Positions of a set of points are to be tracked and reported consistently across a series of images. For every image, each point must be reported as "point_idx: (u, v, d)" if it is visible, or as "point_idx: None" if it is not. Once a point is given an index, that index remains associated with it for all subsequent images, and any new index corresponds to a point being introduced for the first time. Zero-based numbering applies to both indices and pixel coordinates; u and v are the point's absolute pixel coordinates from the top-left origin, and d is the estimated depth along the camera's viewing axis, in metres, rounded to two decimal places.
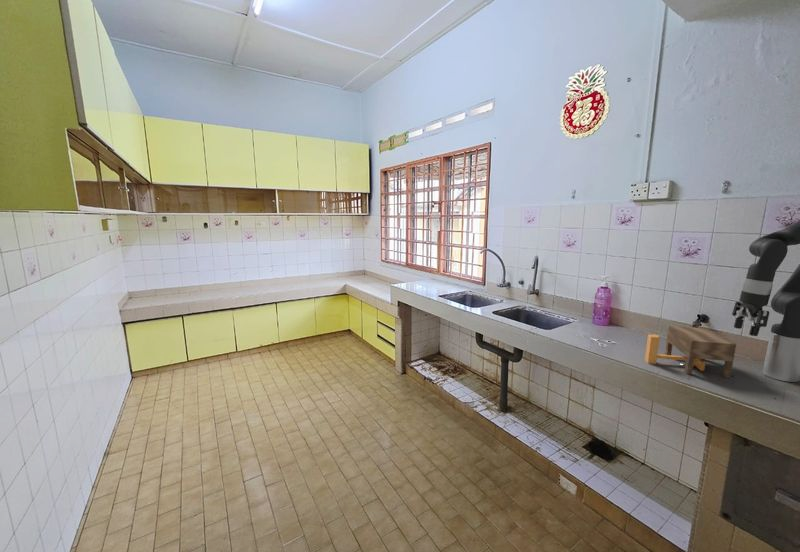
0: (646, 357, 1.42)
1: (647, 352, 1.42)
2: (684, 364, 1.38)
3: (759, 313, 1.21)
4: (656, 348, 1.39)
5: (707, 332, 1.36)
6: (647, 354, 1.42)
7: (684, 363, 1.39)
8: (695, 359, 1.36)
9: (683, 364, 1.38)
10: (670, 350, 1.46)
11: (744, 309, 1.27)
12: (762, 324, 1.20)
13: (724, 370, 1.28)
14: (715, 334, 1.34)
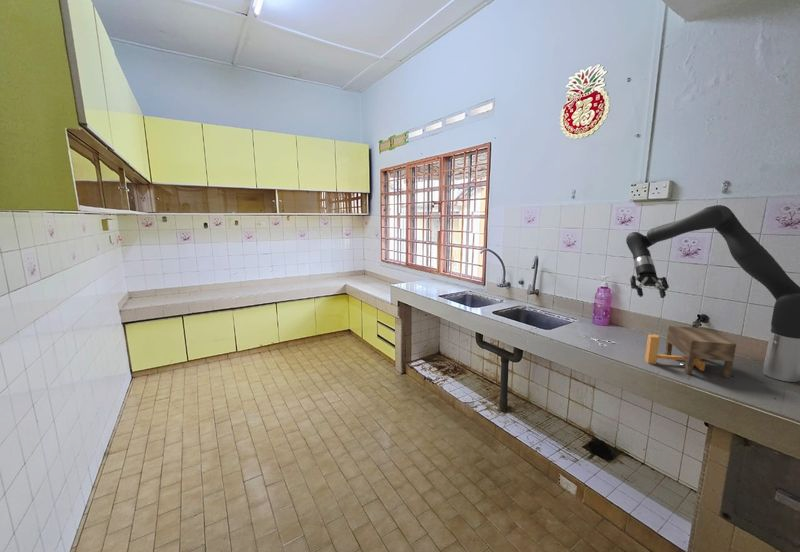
0: (646, 357, 1.42)
1: (647, 352, 1.42)
2: (684, 364, 1.38)
3: None
4: (656, 348, 1.39)
5: (707, 332, 1.36)
6: (647, 354, 1.42)
7: (684, 363, 1.39)
8: (695, 359, 1.36)
9: (683, 364, 1.38)
10: (670, 350, 1.46)
11: None
12: (632, 285, 1.54)
13: (724, 370, 1.28)
14: (715, 334, 1.34)
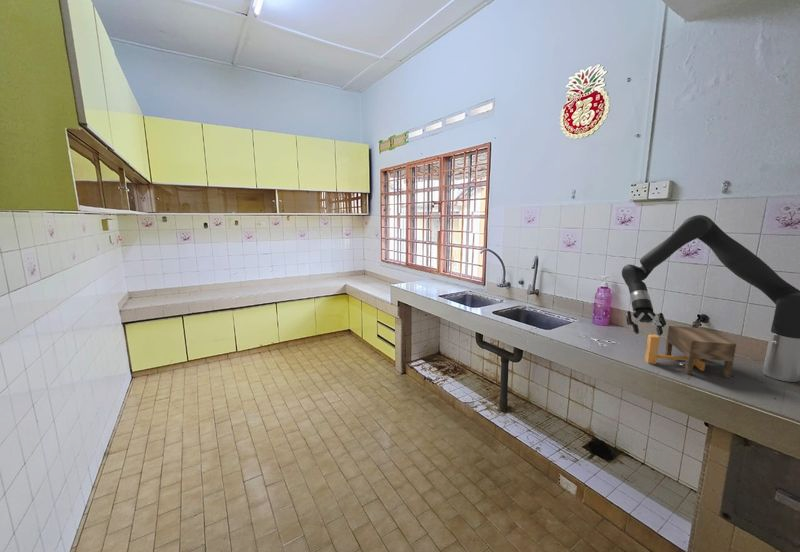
0: (646, 357, 1.42)
1: (647, 352, 1.42)
2: (684, 364, 1.38)
3: None
4: (656, 348, 1.39)
5: (707, 332, 1.36)
6: (647, 354, 1.42)
7: (684, 363, 1.39)
8: (695, 359, 1.36)
9: (683, 364, 1.38)
10: (670, 350, 1.46)
11: None
12: (628, 321, 1.49)
13: (724, 370, 1.28)
14: (715, 334, 1.34)
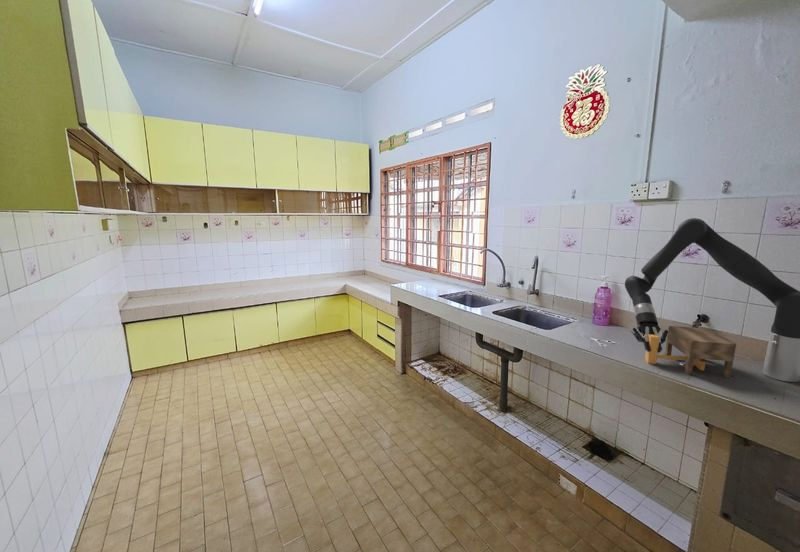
0: (646, 357, 1.42)
1: (647, 352, 1.42)
2: (684, 364, 1.38)
3: None
4: (656, 348, 1.39)
5: (707, 332, 1.36)
6: (647, 354, 1.41)
7: (684, 363, 1.39)
8: (695, 359, 1.36)
9: (683, 364, 1.38)
10: (670, 350, 1.46)
11: None
12: (639, 338, 1.43)
13: (724, 370, 1.28)
14: (715, 334, 1.34)
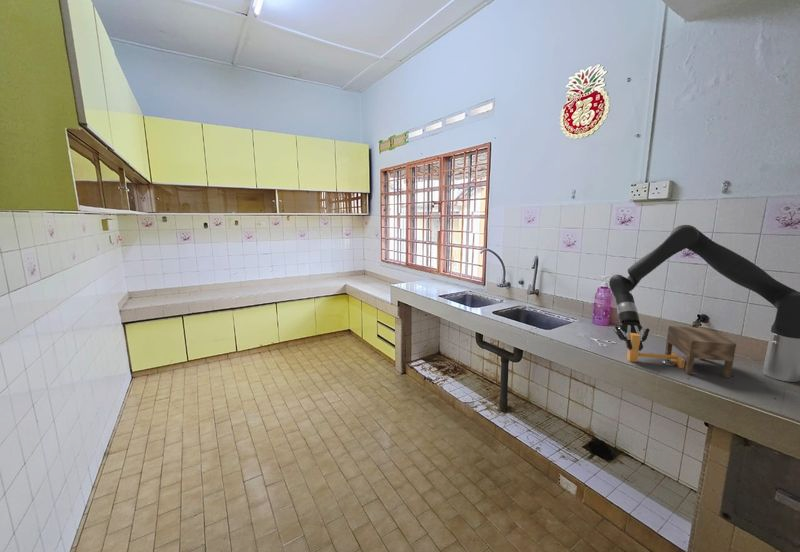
0: (628, 355, 1.44)
1: (629, 351, 1.44)
2: (666, 362, 1.40)
3: None
4: (637, 346, 1.41)
5: (707, 332, 1.36)
6: (629, 352, 1.44)
7: (666, 361, 1.41)
8: (675, 357, 1.38)
9: (665, 362, 1.40)
10: (670, 350, 1.46)
11: None
12: (621, 337, 1.45)
13: (724, 370, 1.28)
14: (715, 334, 1.34)
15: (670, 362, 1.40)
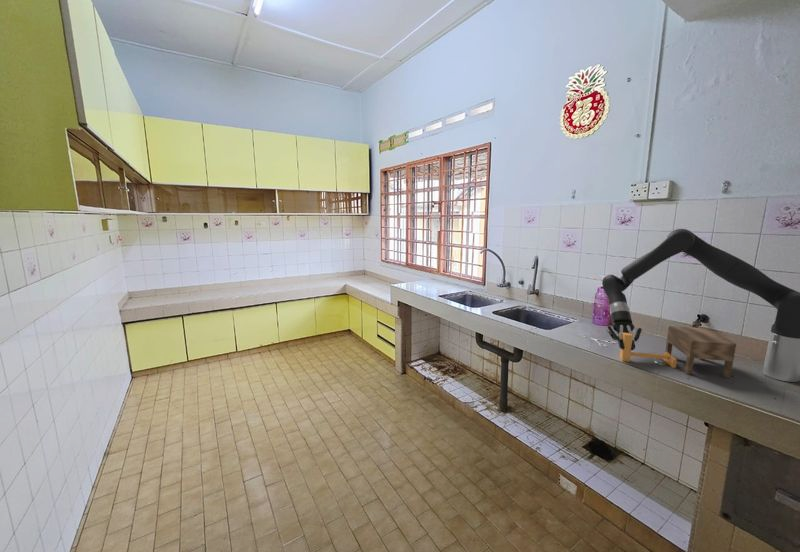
0: (620, 355, 1.45)
1: (621, 350, 1.44)
2: (658, 362, 1.41)
3: None
4: (630, 346, 1.42)
5: (707, 332, 1.36)
6: (621, 352, 1.44)
7: (658, 361, 1.42)
8: (667, 356, 1.39)
9: (657, 362, 1.41)
10: (670, 350, 1.46)
11: None
12: (613, 337, 1.46)
13: (724, 370, 1.28)
14: (715, 334, 1.34)
15: (662, 362, 1.40)
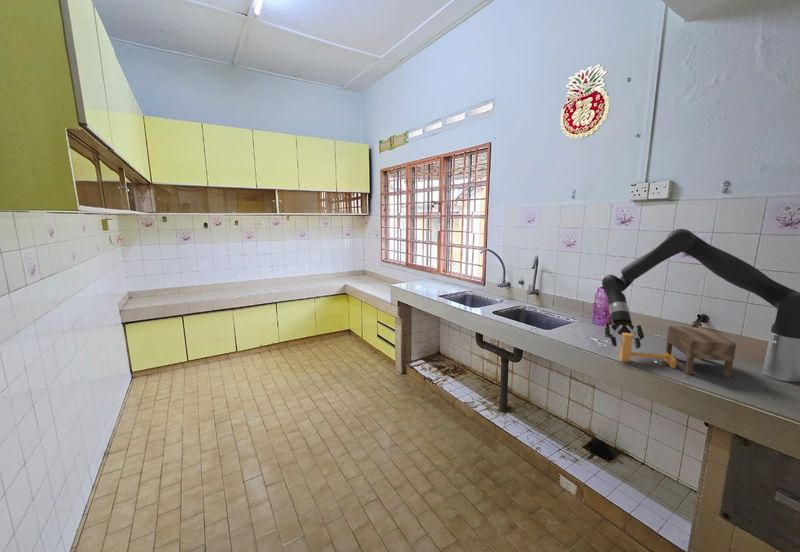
0: (620, 355, 1.45)
1: (621, 350, 1.44)
2: (658, 361, 1.41)
3: None
4: (629, 346, 1.42)
5: (707, 332, 1.36)
6: (621, 352, 1.44)
7: (658, 360, 1.42)
8: (667, 357, 1.39)
9: (657, 361, 1.41)
10: (670, 350, 1.46)
11: None
12: (606, 334, 1.47)
13: (724, 370, 1.28)
14: (715, 334, 1.34)
15: (662, 362, 1.40)
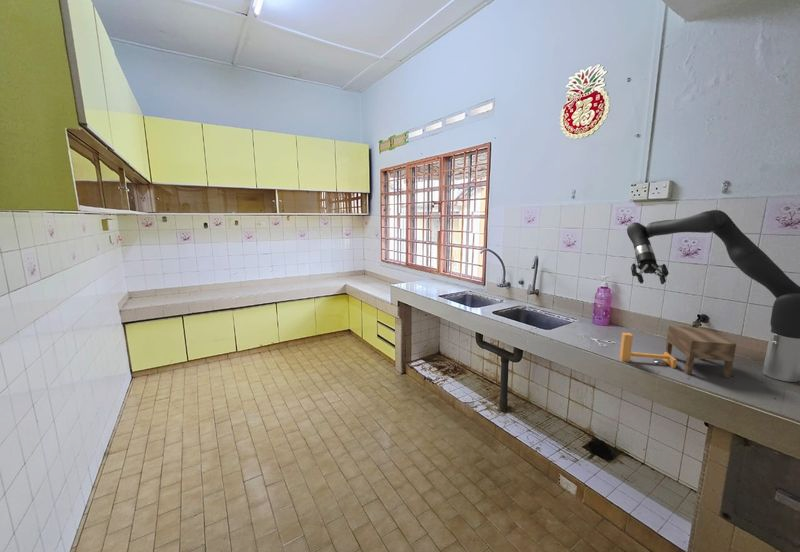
0: (620, 355, 1.45)
1: (621, 350, 1.44)
2: (659, 362, 1.40)
3: None
4: (629, 346, 1.42)
5: (707, 332, 1.36)
6: (621, 352, 1.44)
7: (657, 360, 1.42)
8: (667, 357, 1.39)
9: (658, 362, 1.40)
10: (670, 350, 1.46)
11: None
12: (633, 273, 1.60)
13: (724, 370, 1.28)
14: (715, 334, 1.34)
15: (662, 361, 1.41)
